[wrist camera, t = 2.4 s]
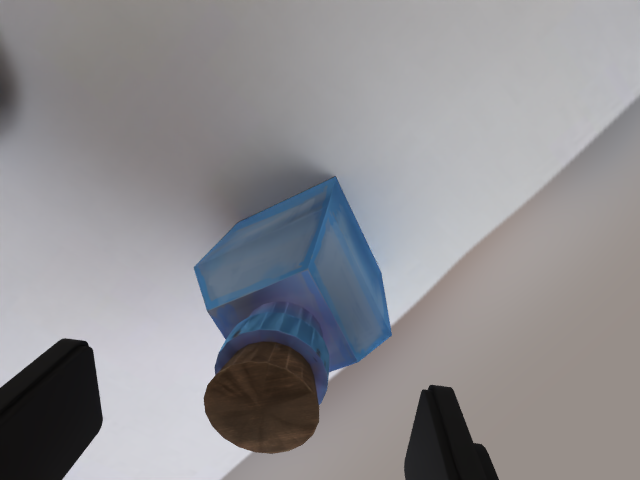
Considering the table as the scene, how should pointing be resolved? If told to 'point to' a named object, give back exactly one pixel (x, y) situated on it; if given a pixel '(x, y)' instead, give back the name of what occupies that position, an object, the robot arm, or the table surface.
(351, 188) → the table surface
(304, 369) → the perfume bottle
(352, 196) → the table surface
